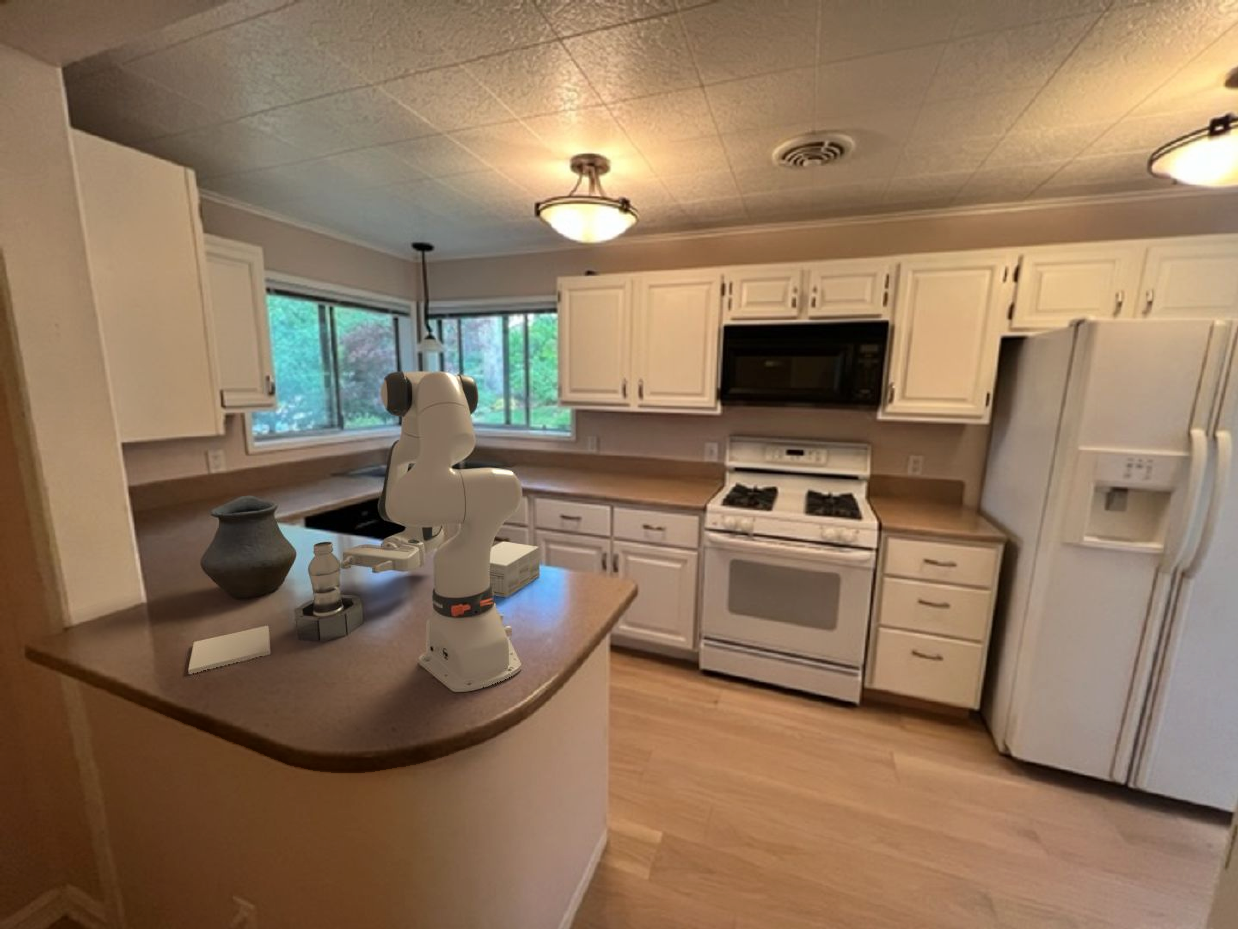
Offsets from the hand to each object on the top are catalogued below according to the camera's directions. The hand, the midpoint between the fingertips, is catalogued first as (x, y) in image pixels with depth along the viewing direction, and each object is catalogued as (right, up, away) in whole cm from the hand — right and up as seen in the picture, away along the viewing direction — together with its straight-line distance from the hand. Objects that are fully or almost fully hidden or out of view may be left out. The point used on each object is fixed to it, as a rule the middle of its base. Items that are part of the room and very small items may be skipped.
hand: (358, 568), depth 123 cm
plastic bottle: (-3, -12, -7) cm, 15 cm away
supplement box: (+32, -9, +20) cm, 38 cm away
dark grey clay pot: (-35, -9, +12) cm, 38 cm away
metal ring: (-3, -12, -7) cm, 14 cm away
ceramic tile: (-17, -14, -18) cm, 28 cm away
